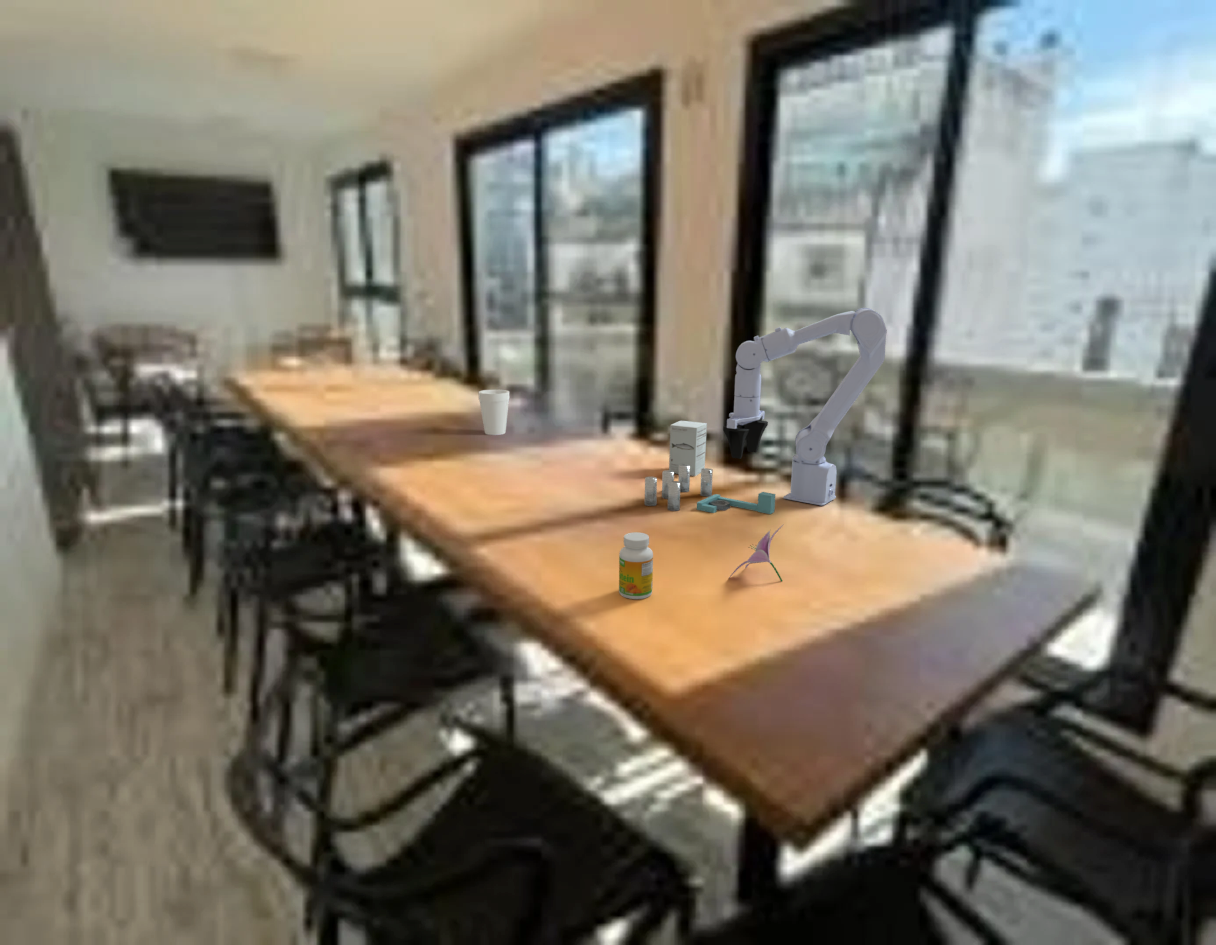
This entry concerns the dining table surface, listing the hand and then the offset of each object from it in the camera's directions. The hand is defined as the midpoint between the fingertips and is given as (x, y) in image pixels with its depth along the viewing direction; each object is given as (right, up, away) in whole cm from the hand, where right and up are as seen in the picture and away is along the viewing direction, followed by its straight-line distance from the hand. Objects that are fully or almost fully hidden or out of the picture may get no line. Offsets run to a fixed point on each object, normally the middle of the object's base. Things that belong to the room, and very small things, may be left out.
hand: (744, 454), depth 182 cm
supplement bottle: (-27, -24, -53) cm, 64 cm away
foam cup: (-66, +8, +68) cm, 96 cm away
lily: (-6, -22, -46) cm, 51 cm away
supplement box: (-11, -4, +22) cm, 25 cm away
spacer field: (-15, -10, -2) cm, 18 cm away
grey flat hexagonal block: (-7, -12, -8) cm, 16 cm away
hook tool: (-4, -12, -10) cm, 16 cm away
